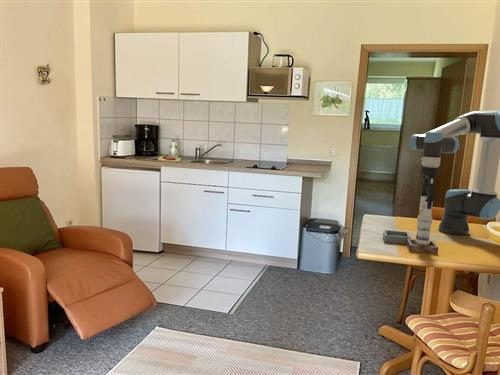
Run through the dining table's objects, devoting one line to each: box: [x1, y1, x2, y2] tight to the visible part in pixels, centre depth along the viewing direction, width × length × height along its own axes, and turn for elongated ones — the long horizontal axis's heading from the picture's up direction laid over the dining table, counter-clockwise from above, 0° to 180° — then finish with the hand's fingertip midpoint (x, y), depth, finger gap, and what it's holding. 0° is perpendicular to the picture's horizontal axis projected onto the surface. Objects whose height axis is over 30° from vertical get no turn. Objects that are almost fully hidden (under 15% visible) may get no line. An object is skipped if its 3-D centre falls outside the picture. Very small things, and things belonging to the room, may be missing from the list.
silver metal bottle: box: [414, 206, 434, 246], centre depth 204 cm, size 6×7×20 cm
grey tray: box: [382, 229, 412, 245], centre depth 219 cm, size 12×11×4 cm
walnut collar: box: [405, 238, 439, 255], centre depth 206 cm, size 12×11×3 cm
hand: (424, 212), depth 203 cm, fingers open, 13 cm apart
